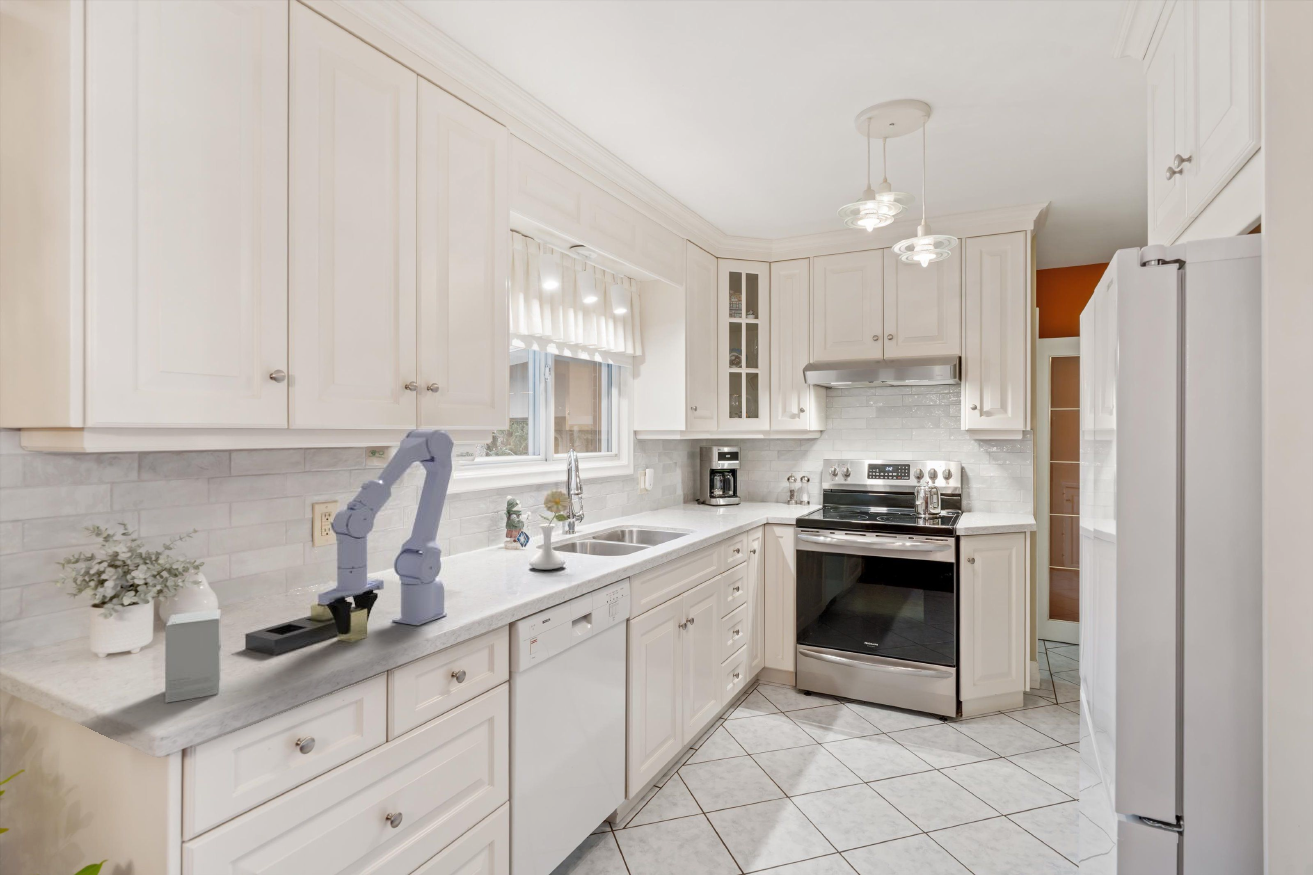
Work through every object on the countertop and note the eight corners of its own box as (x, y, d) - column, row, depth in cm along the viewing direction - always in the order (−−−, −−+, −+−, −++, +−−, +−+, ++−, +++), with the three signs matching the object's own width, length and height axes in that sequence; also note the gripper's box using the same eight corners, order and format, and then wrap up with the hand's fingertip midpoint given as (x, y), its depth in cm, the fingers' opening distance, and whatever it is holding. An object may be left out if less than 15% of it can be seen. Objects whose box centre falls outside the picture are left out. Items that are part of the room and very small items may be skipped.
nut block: (353, 634, 139) (353, 604, 139) (367, 636, 138) (367, 607, 138) (337, 639, 136) (337, 609, 136) (351, 642, 134) (350, 611, 134)
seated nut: (327, 628, 144) (327, 599, 144) (339, 630, 142) (339, 601, 142) (310, 633, 140) (310, 604, 140) (323, 635, 138) (323, 606, 138)
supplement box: (219, 694, 107) (219, 618, 107) (163, 704, 104) (163, 625, 103) (222, 679, 114) (221, 607, 114) (169, 688, 110) (169, 613, 110)
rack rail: (333, 622, 148) (333, 609, 148) (361, 627, 144) (361, 614, 144) (245, 648, 130) (245, 633, 130) (274, 655, 126) (274, 640, 126)
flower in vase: (524, 571, 202) (524, 491, 201) (535, 564, 213) (535, 488, 213) (565, 572, 200) (565, 491, 200) (574, 565, 211) (574, 488, 211)
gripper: (367, 558, 145) (367, 619, 145) (307, 570, 132) (308, 637, 132) (390, 561, 142) (390, 623, 142) (331, 574, 129) (332, 642, 129)
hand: (352, 630), depth 137 cm, fingers closed on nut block, 4 cm apart
